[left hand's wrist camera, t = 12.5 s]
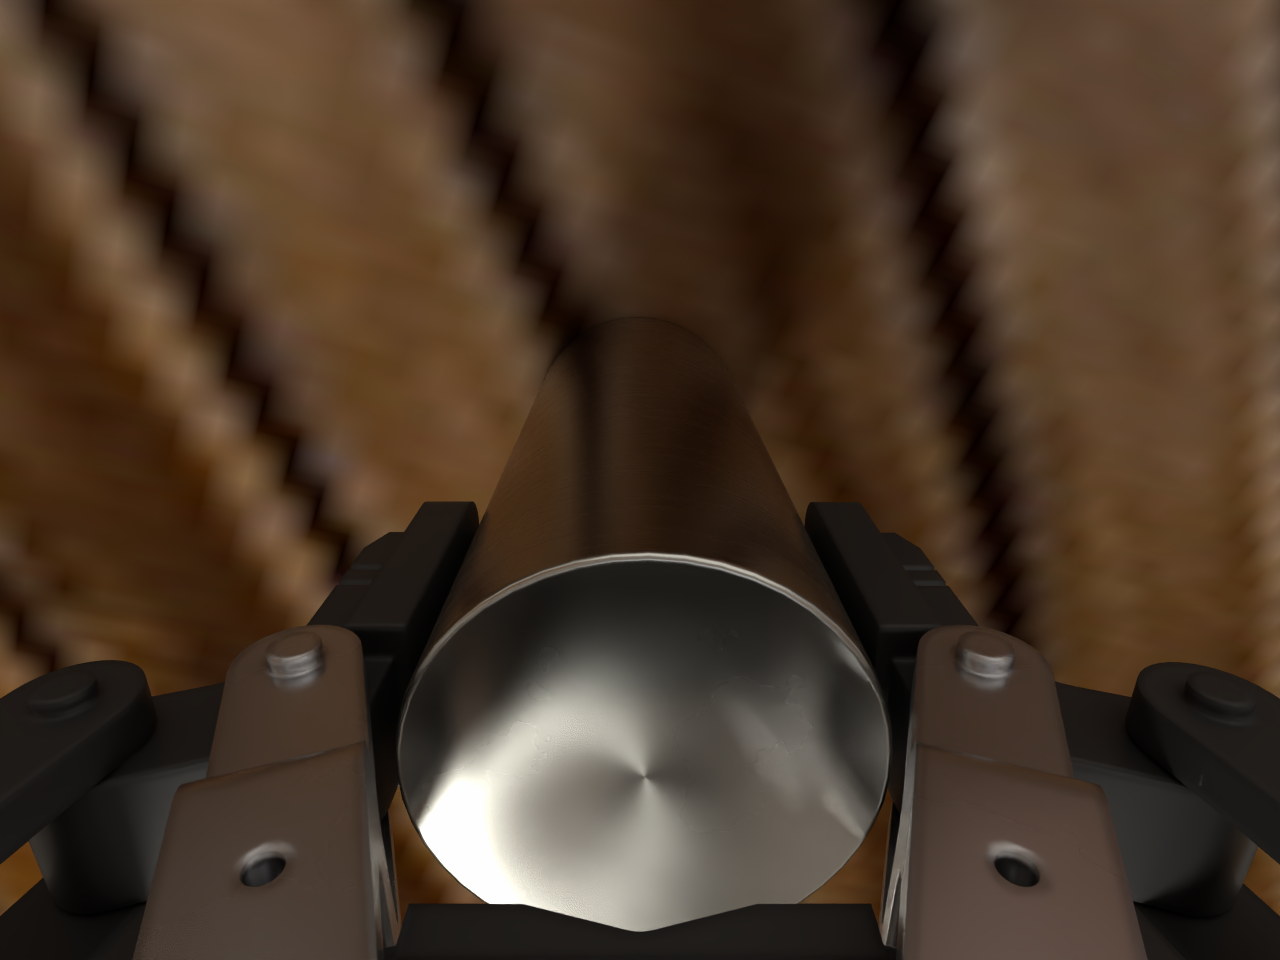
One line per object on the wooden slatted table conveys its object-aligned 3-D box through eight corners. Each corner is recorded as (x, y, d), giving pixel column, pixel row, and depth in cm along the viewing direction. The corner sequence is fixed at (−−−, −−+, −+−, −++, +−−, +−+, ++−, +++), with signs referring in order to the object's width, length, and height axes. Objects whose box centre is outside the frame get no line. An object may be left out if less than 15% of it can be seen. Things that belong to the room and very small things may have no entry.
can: (755, 483, 19) (921, 904, 8) (570, 527, 20) (486, 984, 9) (714, 293, 18) (858, 497, 6) (512, 345, 18) (310, 622, 7)
